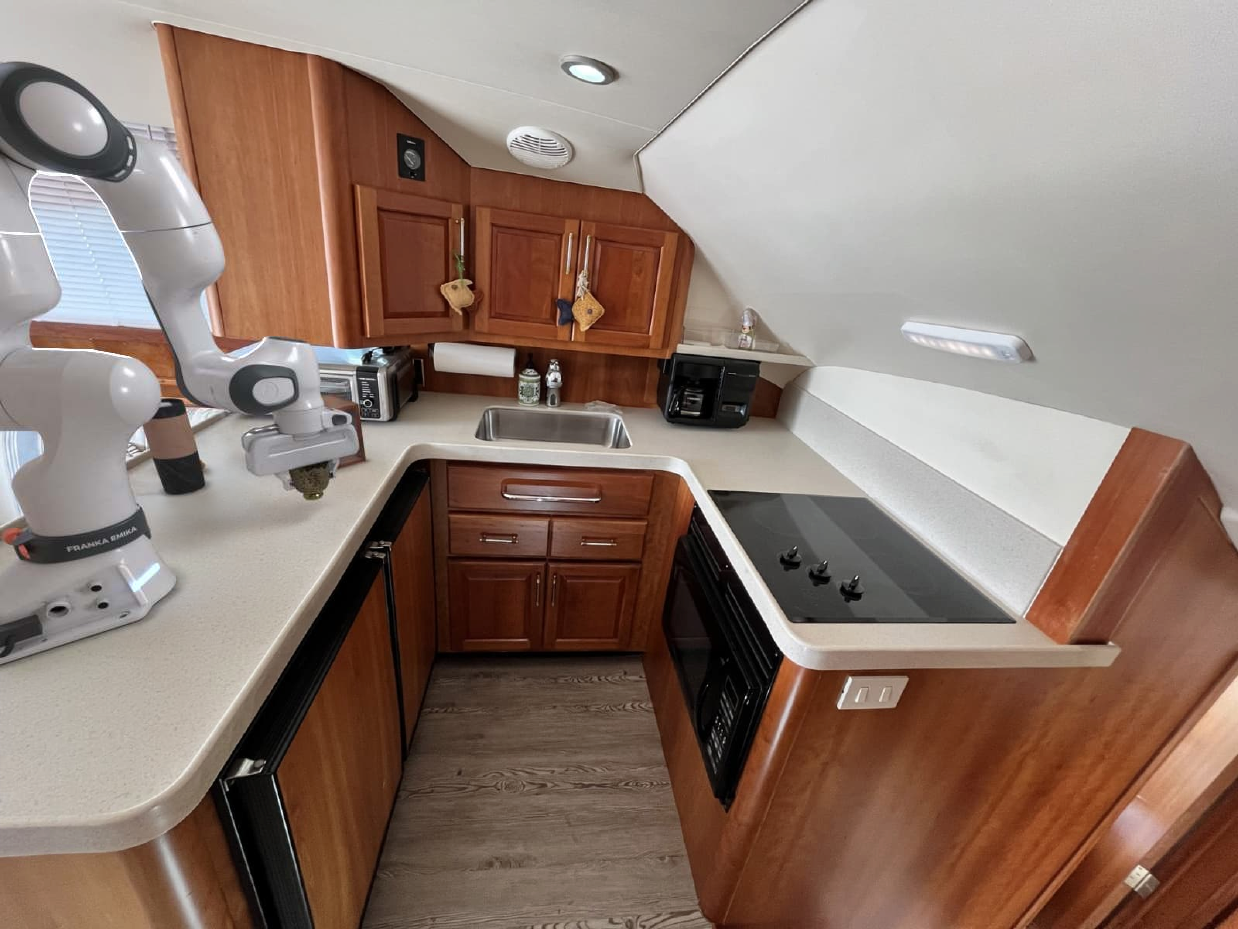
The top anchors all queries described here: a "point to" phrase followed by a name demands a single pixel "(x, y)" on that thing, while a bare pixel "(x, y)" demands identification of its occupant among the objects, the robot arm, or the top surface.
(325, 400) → the shelf
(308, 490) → the cup
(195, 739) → the top surface
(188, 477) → the travel mug
